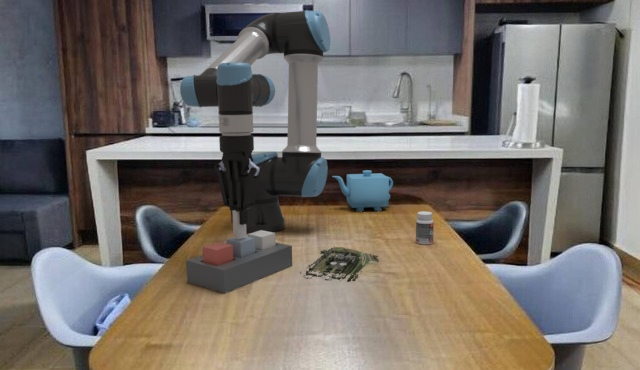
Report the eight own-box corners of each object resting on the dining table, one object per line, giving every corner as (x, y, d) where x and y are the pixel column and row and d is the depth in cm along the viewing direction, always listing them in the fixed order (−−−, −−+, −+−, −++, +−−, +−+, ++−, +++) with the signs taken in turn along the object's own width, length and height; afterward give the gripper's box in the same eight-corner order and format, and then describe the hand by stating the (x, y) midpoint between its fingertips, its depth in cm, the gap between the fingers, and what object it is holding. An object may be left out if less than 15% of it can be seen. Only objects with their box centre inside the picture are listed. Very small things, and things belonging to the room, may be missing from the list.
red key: (203, 264, 117) (202, 246, 116) (219, 259, 121) (218, 241, 120) (217, 268, 114) (216, 250, 114) (233, 262, 118) (232, 245, 117)
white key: (248, 250, 128) (247, 234, 127) (261, 245, 132) (261, 230, 131) (262, 253, 125) (262, 237, 125) (275, 248, 129) (275, 232, 128)
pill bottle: (433, 245, 144) (433, 215, 143) (415, 244, 145) (416, 214, 144) (433, 240, 149) (433, 211, 148) (416, 239, 150) (416, 210, 149)
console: (187, 281, 119) (186, 260, 118) (256, 257, 136) (255, 238, 135) (224, 293, 111) (223, 270, 111) (292, 265, 129) (291, 245, 128)
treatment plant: (373, 286, 116) (373, 270, 115) (292, 282, 119) (292, 266, 118) (381, 253, 140) (381, 239, 139) (313, 250, 143) (313, 237, 143)
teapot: (389, 204, 198) (389, 167, 195) (396, 211, 187) (396, 172, 184) (330, 206, 196) (329, 169, 193) (333, 213, 185) (333, 173, 182)
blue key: (226, 256, 123) (226, 239, 122) (241, 251, 126) (240, 235, 125) (241, 259, 120) (240, 242, 119) (255, 254, 123) (254, 238, 123)
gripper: (203, 134, 119) (208, 237, 123) (245, 136, 111) (249, 245, 115) (228, 132, 125) (232, 230, 129) (269, 134, 117) (272, 238, 121)
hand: (240, 237), depth 122 cm, fingers closed
